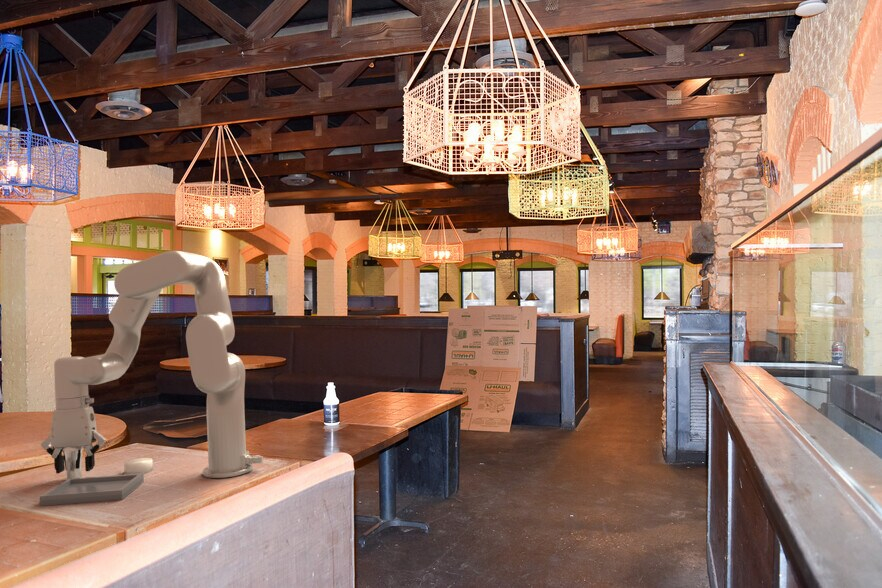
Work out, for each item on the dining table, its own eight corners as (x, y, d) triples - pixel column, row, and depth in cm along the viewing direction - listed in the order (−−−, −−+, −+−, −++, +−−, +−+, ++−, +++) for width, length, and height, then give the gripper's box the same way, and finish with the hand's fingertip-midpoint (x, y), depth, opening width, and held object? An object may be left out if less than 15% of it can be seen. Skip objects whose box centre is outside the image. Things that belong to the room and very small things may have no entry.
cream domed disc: (156, 467, 172) (156, 457, 172) (147, 474, 165) (147, 463, 165) (130, 469, 172) (129, 458, 172) (120, 476, 165) (119, 465, 165)
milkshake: (77, 481, 161) (75, 443, 161) (59, 481, 162) (58, 443, 162) (90, 476, 165) (89, 439, 165) (73, 476, 166) (71, 438, 166)
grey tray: (143, 481, 158) (143, 473, 158) (122, 499, 144) (122, 490, 144) (68, 487, 156) (68, 478, 156) (39, 505, 142) (39, 496, 142)
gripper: (112, 399, 168) (115, 464, 168) (44, 403, 166) (47, 469, 166) (100, 404, 161) (103, 472, 161) (29, 408, 159) (32, 477, 159)
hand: (75, 470), depth 164 cm, fingers open, 6 cm apart
